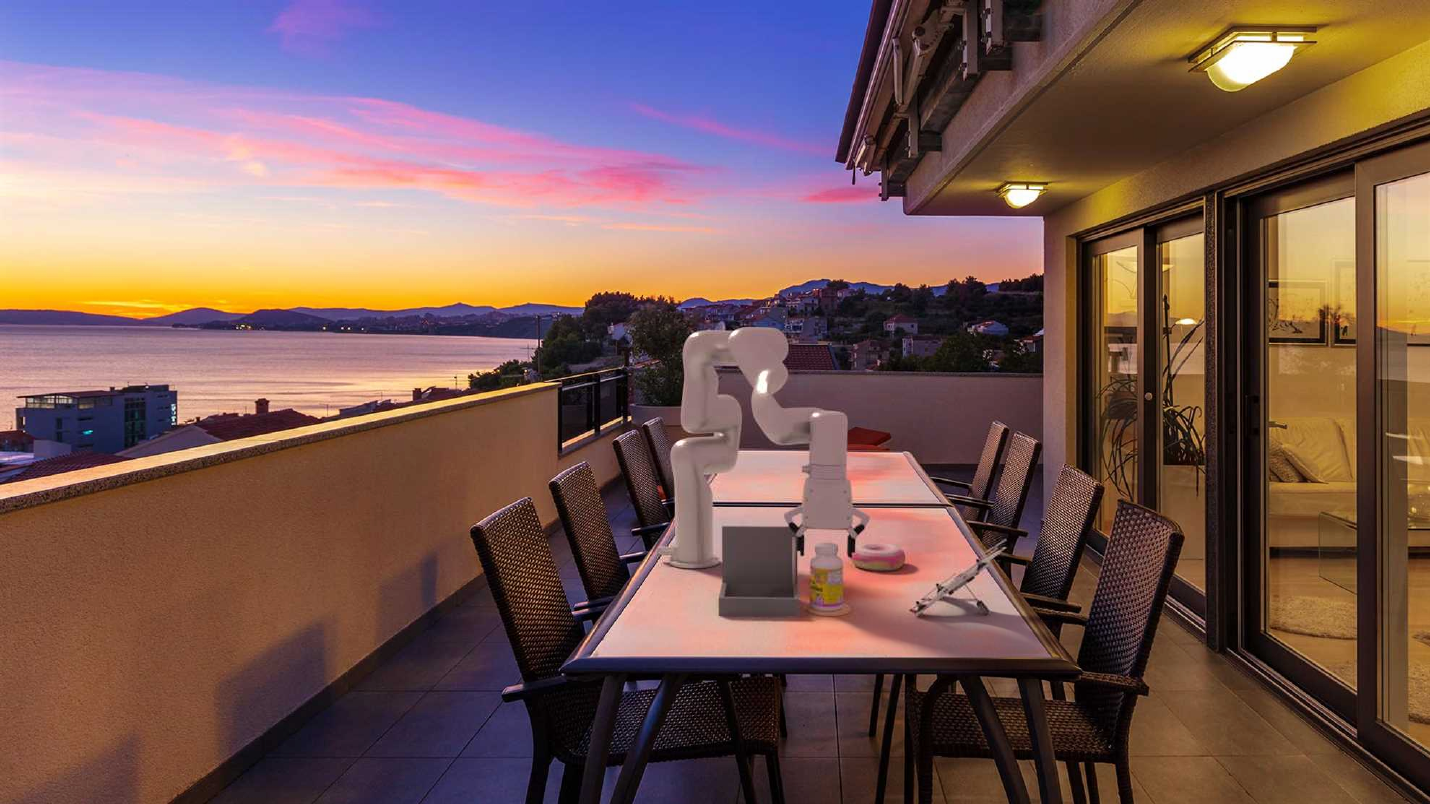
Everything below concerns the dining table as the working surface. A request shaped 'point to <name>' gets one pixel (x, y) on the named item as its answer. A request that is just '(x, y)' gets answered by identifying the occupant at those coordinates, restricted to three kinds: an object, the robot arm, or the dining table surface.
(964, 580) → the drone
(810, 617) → the dining table surface
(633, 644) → the dining table surface
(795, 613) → the case
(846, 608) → the pad
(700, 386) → the robot arm
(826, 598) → the supplement bottle
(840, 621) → the dining table surface
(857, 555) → the donut
